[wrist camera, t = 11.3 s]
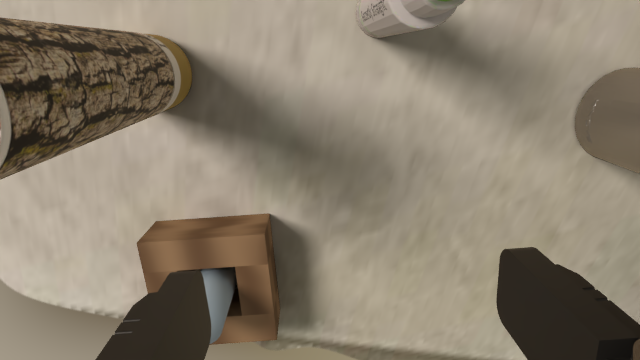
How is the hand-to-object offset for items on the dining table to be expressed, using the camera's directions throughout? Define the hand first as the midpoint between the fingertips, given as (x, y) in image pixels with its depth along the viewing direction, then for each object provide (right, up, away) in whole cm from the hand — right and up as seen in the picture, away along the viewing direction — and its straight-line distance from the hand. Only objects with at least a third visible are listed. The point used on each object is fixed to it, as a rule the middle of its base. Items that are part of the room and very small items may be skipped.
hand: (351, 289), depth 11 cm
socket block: (-12, -7, +33) cm, 36 cm away
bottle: (+5, +18, +26) cm, 32 cm away
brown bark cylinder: (-16, +13, +27) cm, 34 cm away
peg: (-12, -7, +33) cm, 36 cm away
